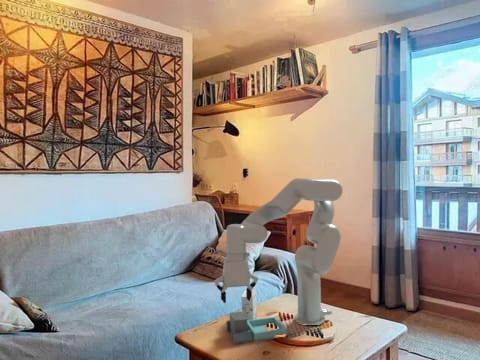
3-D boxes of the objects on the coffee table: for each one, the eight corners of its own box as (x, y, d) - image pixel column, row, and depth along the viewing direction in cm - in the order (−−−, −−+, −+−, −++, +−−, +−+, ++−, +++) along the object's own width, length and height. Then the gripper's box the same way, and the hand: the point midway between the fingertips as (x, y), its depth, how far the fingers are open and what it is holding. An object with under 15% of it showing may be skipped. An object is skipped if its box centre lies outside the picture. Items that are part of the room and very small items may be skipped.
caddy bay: (243, 328, 159) (243, 318, 158) (251, 341, 147) (251, 331, 146) (226, 330, 157) (226, 320, 157) (233, 344, 145) (233, 333, 145)
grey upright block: (242, 330, 156) (241, 311, 156) (247, 339, 148) (247, 319, 148) (230, 332, 155) (229, 312, 155) (234, 341, 147) (234, 320, 147)
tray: (275, 323, 162) (275, 316, 162) (287, 336, 150) (287, 329, 150) (245, 327, 159) (245, 320, 159) (254, 341, 147) (254, 333, 146)
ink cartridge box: (245, 316, 171) (244, 282, 170) (256, 316, 170) (256, 283, 169) (241, 324, 163) (240, 289, 162) (253, 324, 162) (252, 289, 161)
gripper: (255, 253, 156) (255, 295, 157) (212, 255, 152) (212, 299, 152) (260, 257, 149) (260, 301, 149) (215, 260, 144) (216, 306, 145)
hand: (236, 300), depth 151 cm, fingers open, 9 cm apart
